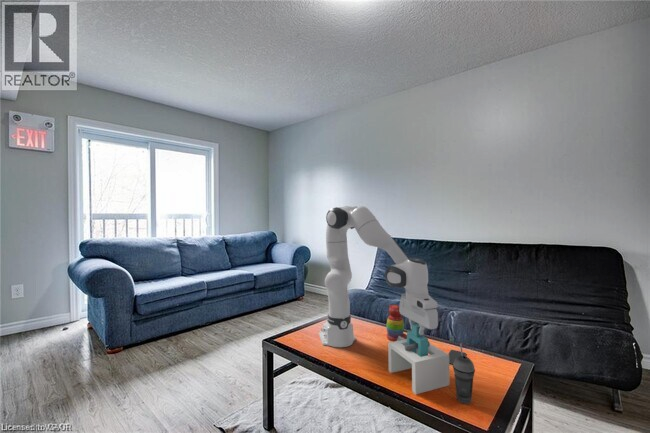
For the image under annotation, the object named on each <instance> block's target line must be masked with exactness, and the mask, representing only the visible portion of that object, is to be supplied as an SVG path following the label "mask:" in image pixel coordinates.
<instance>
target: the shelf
mask: <svg viewBox="0 0 650 433" xmlns="http://www.w3.org/2000/svg"><path fill="white" fill-rule="evenodd" d="M387 345H388V347H387V348H388V349H387V351H388V352H387V354H388V372H389V373H390V374H393V373H397V372H398V373H399V372H402V371H406V370H410V369H411V392H412V393H413V394H414V395H419V394H423V393H426V392H430V391H433V390H437V389H440V388H445V387H448V386H450V364H449V353H447V352H446V351H444V350H443V349H440V347H437V346H435V345H433V344H432V343H431V342H430V341H428V356H423V357H420V356H419V355H418V343H417V342H416V344H411V345H407V339H405V340H400V341H395V342H394V341H391V342H390V341H389V342H388V343H387ZM414 349H417V354H416V353H414V352H413V351H411V350H414Z"/></svg>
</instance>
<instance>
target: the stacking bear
mask: <svg viewBox="0 0 650 433" xmlns="http://www.w3.org/2000/svg"><path fill="white" fill-rule="evenodd" d="M399 306H400V305H397V304H393V305H392V304H390V305H389V308H388V311H389V315H388V317H387V320H386V326H385V327H386V332H387V333H386V338H387V340H389V342H390V341H391V342H395V341H397V338H398V336H400V337H402V338H404V339H407V333H404V331H405V323H404V319H403V316H402V315H401V314H400V312H399Z"/></svg>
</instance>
